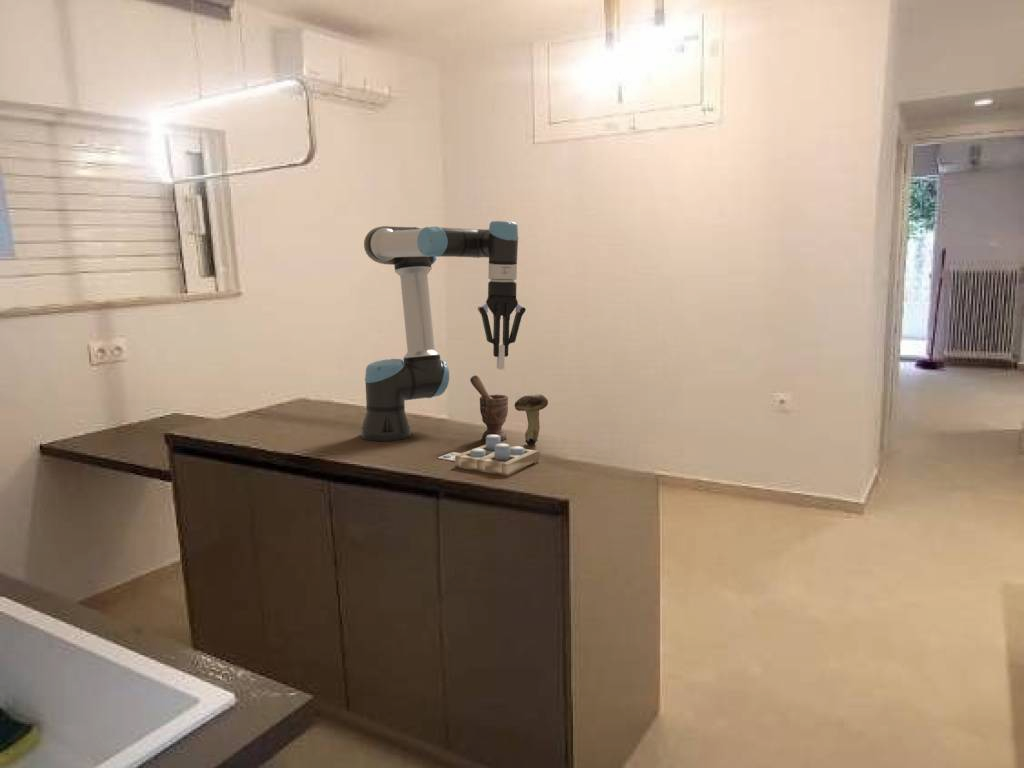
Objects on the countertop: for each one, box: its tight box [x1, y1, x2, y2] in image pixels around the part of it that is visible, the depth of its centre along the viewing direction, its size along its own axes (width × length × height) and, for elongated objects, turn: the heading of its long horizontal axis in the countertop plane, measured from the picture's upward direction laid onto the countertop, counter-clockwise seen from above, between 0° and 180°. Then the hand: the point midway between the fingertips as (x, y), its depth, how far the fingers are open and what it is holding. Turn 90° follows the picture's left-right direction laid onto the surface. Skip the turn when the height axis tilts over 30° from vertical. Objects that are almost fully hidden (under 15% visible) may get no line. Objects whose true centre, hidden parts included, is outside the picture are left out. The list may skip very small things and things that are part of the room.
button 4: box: [510, 445, 526, 455], centre depth 191 cm, size 4×4×4 cm
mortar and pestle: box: [469, 374, 509, 441], centre depth 216 cm, size 12×9×20 cm
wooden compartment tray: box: [454, 444, 540, 477], centre depth 189 cm, size 16×16×3 cm
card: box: [437, 451, 463, 462], centre depth 196 cm, size 7×7×1 cm
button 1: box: [469, 447, 486, 458], centre depth 188 cm, size 4×4×4 cm
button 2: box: [485, 435, 502, 451], centre depth 194 cm, size 4×4×4 cm
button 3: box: [494, 443, 511, 461], centre depth 184 cm, size 4×4×4 cm
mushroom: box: [514, 393, 549, 446], centre depth 210 cm, size 9×9×15 cm
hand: (500, 368), depth 194 cm, fingers closed
